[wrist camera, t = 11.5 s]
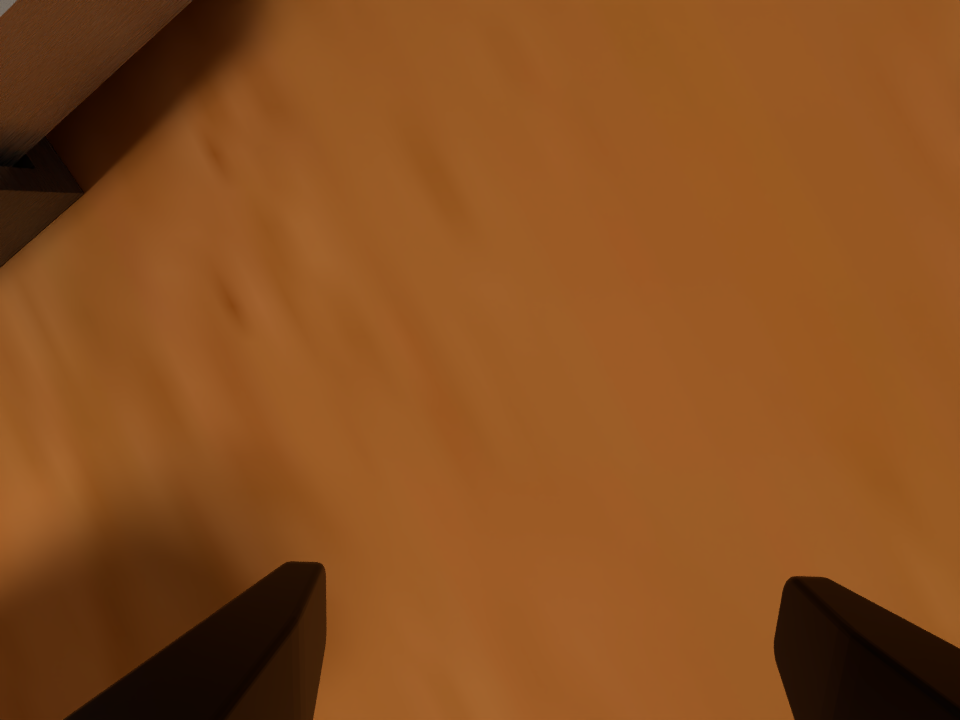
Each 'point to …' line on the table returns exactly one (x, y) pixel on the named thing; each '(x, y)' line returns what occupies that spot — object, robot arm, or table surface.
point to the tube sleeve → (33, 196)
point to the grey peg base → (64, 58)
